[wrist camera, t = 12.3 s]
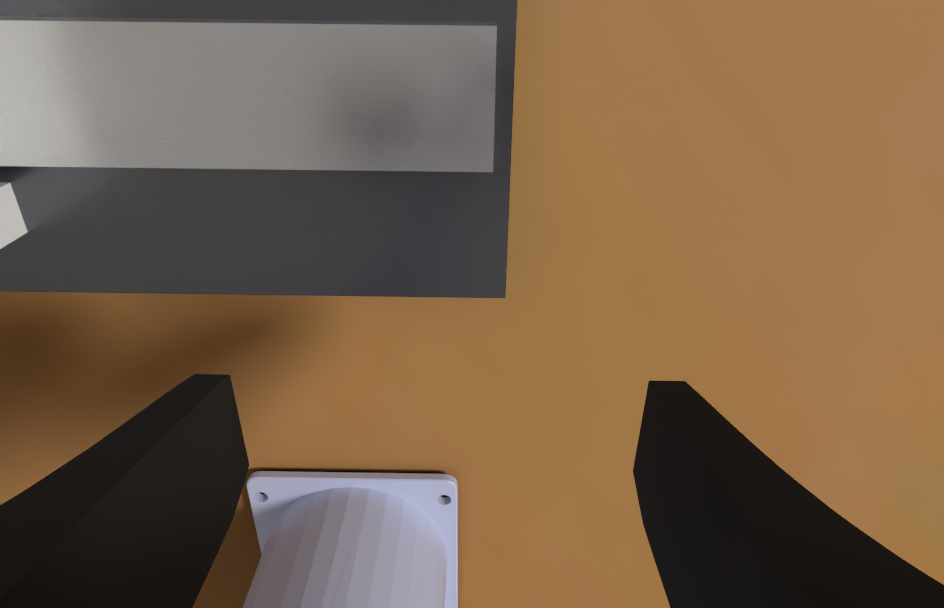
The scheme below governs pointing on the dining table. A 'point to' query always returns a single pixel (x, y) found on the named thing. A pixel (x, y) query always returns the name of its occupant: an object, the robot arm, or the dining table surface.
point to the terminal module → (10, 216)
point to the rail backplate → (258, 146)
